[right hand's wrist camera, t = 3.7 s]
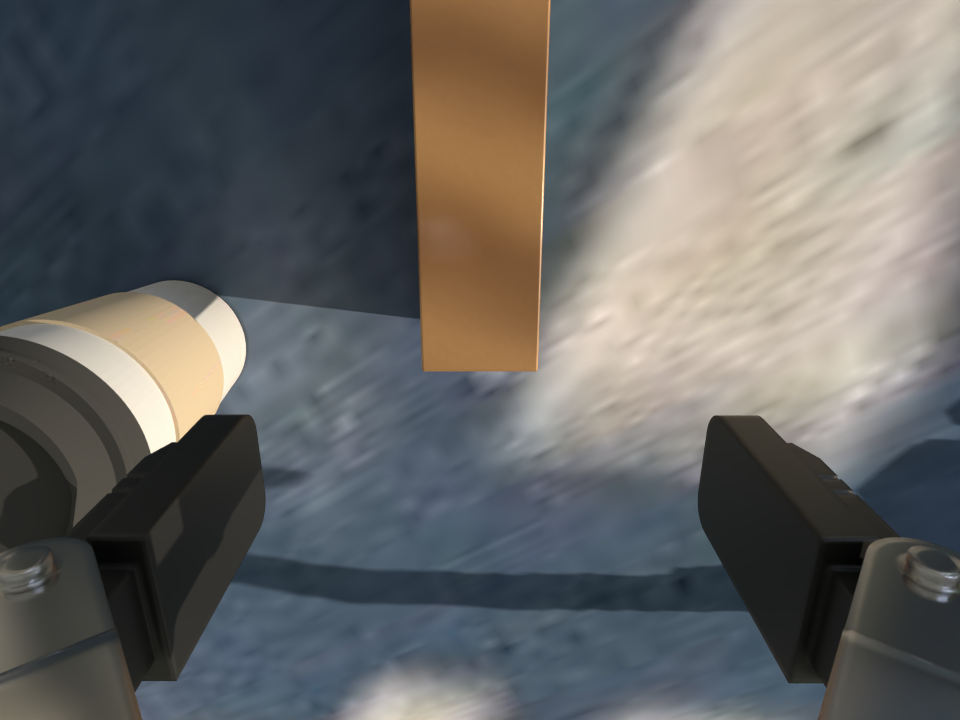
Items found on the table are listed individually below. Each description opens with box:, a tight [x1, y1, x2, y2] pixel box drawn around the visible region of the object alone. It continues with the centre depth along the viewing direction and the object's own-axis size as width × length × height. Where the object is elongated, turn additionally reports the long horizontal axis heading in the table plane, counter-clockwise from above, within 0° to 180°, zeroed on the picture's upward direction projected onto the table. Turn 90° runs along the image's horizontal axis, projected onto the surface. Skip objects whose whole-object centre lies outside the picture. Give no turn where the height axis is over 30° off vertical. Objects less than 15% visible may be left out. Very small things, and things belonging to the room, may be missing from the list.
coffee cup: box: [0, 280, 246, 553], centre depth 26 cm, size 9×9×15 cm
